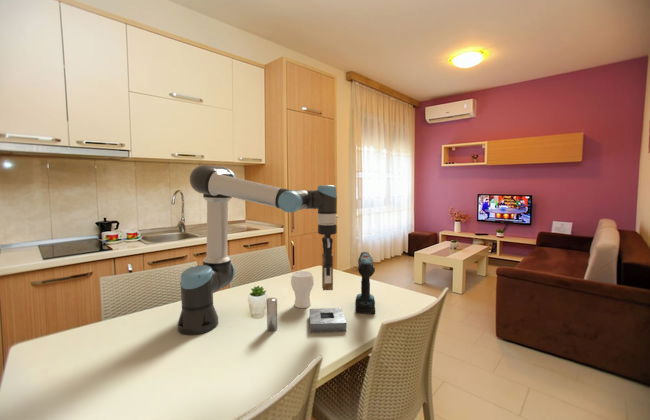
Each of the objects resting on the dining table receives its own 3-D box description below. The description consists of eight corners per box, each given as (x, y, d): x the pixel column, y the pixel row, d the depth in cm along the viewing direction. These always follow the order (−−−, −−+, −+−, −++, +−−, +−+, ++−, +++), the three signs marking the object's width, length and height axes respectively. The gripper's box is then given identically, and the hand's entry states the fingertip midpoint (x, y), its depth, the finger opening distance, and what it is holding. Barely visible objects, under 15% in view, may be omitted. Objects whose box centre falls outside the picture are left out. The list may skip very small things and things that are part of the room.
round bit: (266, 331, 115) (266, 301, 114) (267, 326, 119) (267, 297, 118) (277, 331, 116) (276, 301, 115) (277, 326, 120) (277, 297, 119)
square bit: (322, 290, 119) (322, 255, 117) (322, 286, 123) (322, 253, 121) (332, 290, 119) (332, 255, 118) (331, 286, 123) (331, 253, 122)
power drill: (372, 298, 149) (373, 249, 147) (376, 318, 127) (377, 261, 125) (355, 297, 150) (355, 249, 148) (355, 317, 127) (356, 260, 125)
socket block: (310, 332, 115) (310, 323, 114) (309, 316, 128) (309, 308, 128) (346, 331, 116) (346, 322, 115) (341, 315, 130) (341, 307, 129)
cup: (303, 311, 134) (303, 279, 132) (286, 305, 140) (286, 274, 139) (318, 304, 142) (318, 273, 141) (301, 298, 149) (301, 269, 147)
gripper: (339, 226, 110) (339, 288, 112) (334, 221, 127) (334, 274, 129) (319, 227, 110) (319, 288, 112) (316, 221, 127) (317, 275, 129)
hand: (327, 280), depth 121 cm, fingers closed on square bit, 4 cm apart
